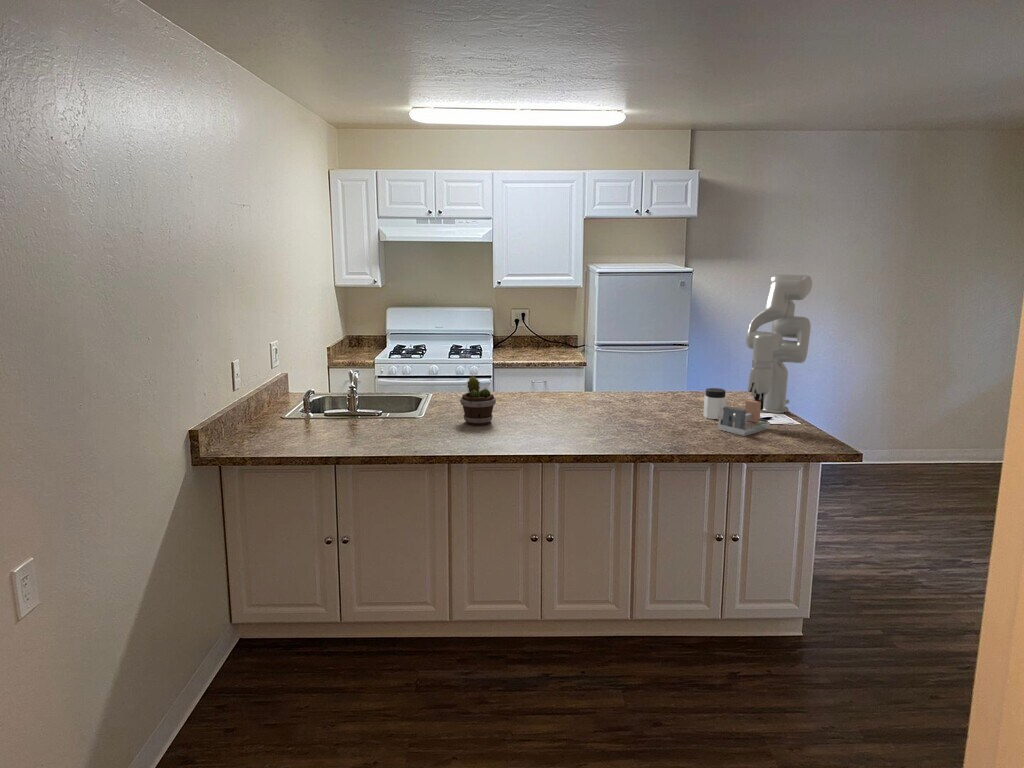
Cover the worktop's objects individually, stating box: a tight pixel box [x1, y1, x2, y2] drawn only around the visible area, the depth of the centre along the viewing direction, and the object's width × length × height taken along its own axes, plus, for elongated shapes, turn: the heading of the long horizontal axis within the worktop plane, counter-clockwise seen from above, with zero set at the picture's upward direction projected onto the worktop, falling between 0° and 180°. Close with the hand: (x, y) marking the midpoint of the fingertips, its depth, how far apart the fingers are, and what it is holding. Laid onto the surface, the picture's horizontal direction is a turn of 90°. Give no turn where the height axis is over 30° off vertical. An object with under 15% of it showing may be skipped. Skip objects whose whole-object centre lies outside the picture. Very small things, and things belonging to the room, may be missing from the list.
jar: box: [702, 387, 727, 421], centre depth 307 cm, size 9×8×12 cm
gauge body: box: [717, 405, 771, 437], centre depth 289 cm, size 18×12×10 cm, turn 130°
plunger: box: [733, 399, 769, 422], centre depth 288 cm, size 15×8×8 cm, turn 130°
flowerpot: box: [459, 373, 497, 426], centre depth 296 cm, size 14×15×20 cm
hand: (758, 409), depth 295 cm, fingers closed
